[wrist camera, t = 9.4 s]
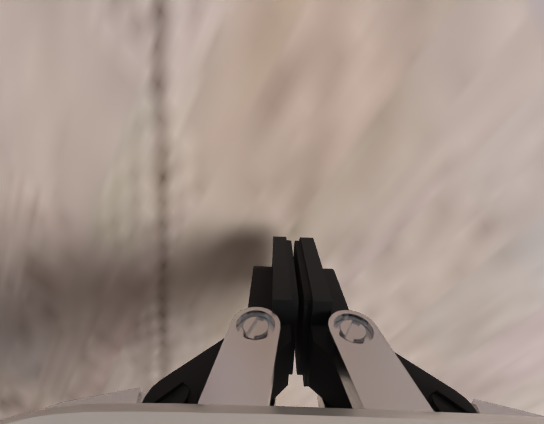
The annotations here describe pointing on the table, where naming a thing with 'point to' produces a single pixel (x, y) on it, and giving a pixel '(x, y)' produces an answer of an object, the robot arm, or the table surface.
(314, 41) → the table surface
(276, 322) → the robot arm
